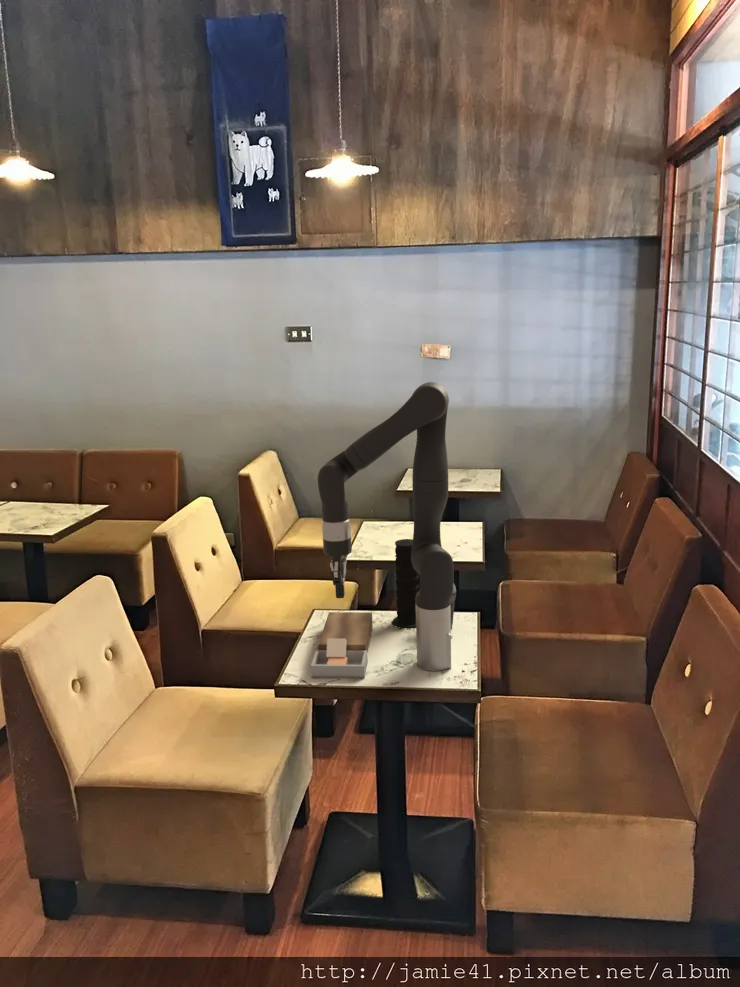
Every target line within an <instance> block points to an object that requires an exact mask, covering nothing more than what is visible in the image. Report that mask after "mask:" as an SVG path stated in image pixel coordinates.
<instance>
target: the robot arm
mask: <svg viewBox="0 0 740 987" xmlns="http://www.w3.org/2000/svg"><path fill="white" fill-rule="evenodd" d="M449 402H450V399H449V395H448V392H447V391H446V389H445V388H444V387H443V386H442V385H441V384H439V383H438V382H434V381H428V382H425V383H422V384H420V385H419V386H417V388H416V389H415V390H414V391H413V393H412V394H411V396H410V397H409V398H408V400H406V402H405V403H404V404H403V405H402V406H401V407H400V408H399V409H398V410H397V411H396V412H395V413H393V414H392V415H391V416H389V417H388V418H387V419H386V420H384V421H383V422H381V423H379V424H378V425H376V426H375V427H374V428H371V429H370V430H369V431H367V432H366V433H365V434H363V435H362V436H360V437H359V438H358V439H357V440H355V441H354V442H353V443H351V444H350V445H349V446H348V447H346V449H345V450H343V451H341V452H340V453H339V454H336V455H335V456H334V457H333V458H331V459H330V460H329V461H327V462H325V464H324V465H323V466H322V467H321V468H320V469H319V471H318V474H317V488H318V492H319V493H318V494H319V496H320V501H321V516H322V527H321V529H322V530H321V532H322V544H323V546H322V547H323V553H324V555H326V556H328V557H329V556H330V557H331V560H330V561H329V562H330V563H329V567H330V569H331V571H330V576H331V581H332V585H333V586H335V587H334V588H335V597H336V599H344V598H345V595H346V594H345V593H346V592H345V582H346V574H347V566H346V565H347V561H348V560H347V557H345V556H348V555H350V554H351V553H352V551H353V549H352V548H353V545H352V544H353V543H352V529H351V522H350V508H349V501H348V499H347V498H346V492H345V483H346V482H347V481H348V480H349V479H351V478H352V477H353V476H355V474H357V473H358V472H359V471H362V470H364V469H365V468H367V467H369V466H370V465H372V464H373V463H375V461H377V460H378V459H379V458H380V457H382V456H383V455H384V454H386V453H387V452H388V451H389V450H391V448H393V447H394V446H396V445H397V444H398V443H399V442H401V441H402V440H403V439H404V438H406V437H408V436H409V435H410V434H412V433H414V432H415V431H416V442H415V449H414V456H413V461H412V462H413V464H412V465H413V466H412V475H411V476H412V477H411V478H412V480H411V482H412V484H411V485H412V507H413V508H412V512H413V515H412V516H413V536H412V539H413V544H412V554H411V562H412V565H413V568H414V569H415V571H416V572H417V573H418V575H419V592H417V594H416V628H415V630H416V632H415V635H416V636H415V637H416V638H415V640H416V645H415V646H416V665H417V667H418V668H420V669H422V670H425V671H431V672H432V671H433V672H435V671H437V672H438V671H444V670H446V669H452V630H451V612H450V604H451V597H452V594H453V583H454V581H455V580H454V579H455V578H454V573H455V571H454V570H455V569H454V568H455V567H454V566H455V565H454V560H453V558H452V555H451V554H450V553H449V552H448V551H447V550H445V549H444V548H443V546H442V540H441V539H442V537H441V520H442V517H443V515H444V511H445V509H446V505H447V502H448V499H449V463H448V462H449V461H448V452H447V443H446V426H447V419H448V418H447V417H448V411H449V410H448V408H449Z"/></svg>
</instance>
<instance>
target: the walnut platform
mask: <svg viewBox="0 0 740 987" xmlns="http://www.w3.org/2000/svg"><path fill="white" fill-rule="evenodd" d="M373 624H374V623H373V612H367V611H366V612H364V611H363V612H359V611H358V612H355V611H354V612H350V611H347V612H345V611H343V612H340V611H339V612H338V611H337V612H336V611H335V612H332V611H331V612H330V611H329V612H328V614H327V617H326V620H325V623H324V625H323V629H322V631H321V634H320V637H319V640H318V642H317V650H327V638H339V639H346V640H347V647H346V650H367V653H369V649H368V648H370V644H369V643H371V639H370V638H372V634H371V633H373V629H372V628H373V627H374V626H373Z"/></svg>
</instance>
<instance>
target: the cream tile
mask: <svg viewBox="0 0 740 987" xmlns="http://www.w3.org/2000/svg"><path fill="white" fill-rule="evenodd" d="M346 647H347V640H346V639H339V638H327V654H326V657H327V659H329V657H346Z"/></svg>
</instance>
